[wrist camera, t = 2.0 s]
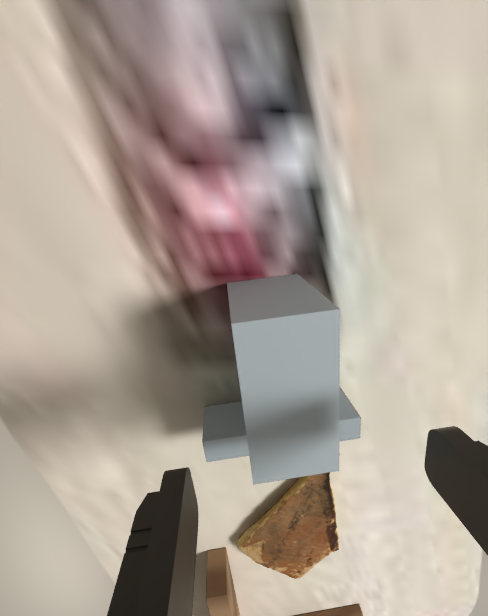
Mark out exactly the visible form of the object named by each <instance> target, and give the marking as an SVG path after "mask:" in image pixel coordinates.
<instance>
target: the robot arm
mask: <svg viewBox="0 0 488 616" xmlns="http://www.w3.org/2000/svg"><path fill="white" fill-rule="evenodd" d="M425 471H426V474H427V476H428V479H429V481H430V482H431V484H432V485H433V487H434V488H435V489H436V491H437V492H438V493H439V494H440V496H441V497H442V498H443V499H444V501H445V502H446V503H447V504H448V506H449V507H450V508H451V509H452V511H453V512H454V513H455V515H456V516H457V517H458V518H459V520H460V521H461V522H462V523H463V525H464V526H465V527H466V528H467V530H468V531H469V532H470V534H471V535H472V536H473V537H474V539H475V540H476V541H477V542H478V544H479V545H480V546H481V547H482V549H483V550H484V551H485V552H486V554H487V555H488V446H487V445H485V444H483V443H481V442H480V441H475V442H474V441H473V440H472V439H471V438H470V437H469V436H468V435H466V434H465V433H464V432H463V431H462V430H461V429H459V428H458V427H454V426H452V427H446V428H439V429H433V430H430V431H429V433H428V439H427V447H426V456H425ZM197 533H198V505H197V499H196V494H195V490H194V486H193V481H192V477H191V473H190V469H189V468H188V467H187V468H181V469H175V470H168V471H165V472H164V475H163V479H162V483H161V488H160V491H159V492H152V493H148V494H147V495H146V497H145V499H144V500H143V502H142V503H141V505H140V506H139V508H138V509H137V511H136V514H135V518H134V521H133V525H132V529H131V535H130V536H129V539H128V543H127V546H126V553H125V554H124V557H123V561H122V564H121V568H120V571H119V575H118V579H117V582H116V586H115V589H114V593H113V597H112V600H111V604H110V607H109V611H108V614H107V616H192V606H193V592H194V577H195V562H196V548H197Z"/></svg>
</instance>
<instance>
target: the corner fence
mask: <svg viewBox="0 0 488 616" xmlns="http://www.w3.org/2000/svg"><path fill="white" fill-rule="evenodd" d="M206 601H207V604H208V608H209V612H210V616H240V614H239V609H238V605H237V600H236V595H235V590H234V585H233V580H232V575H231V571H230V566H229V561H228V556H227V551H226V548H221V549H215V550H209V551H207V583H206ZM296 616H363V614H362V611H361V608H360V606H359V604H356V605H351V606H345V607H340V608H335V609H329V610H324V611H318V612H313V613H307V614H302V615H296Z"/></svg>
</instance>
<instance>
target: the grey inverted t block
mask: <svg viewBox="0 0 488 616" xmlns="http://www.w3.org/2000/svg"><path fill="white" fill-rule="evenodd" d="M227 290H228V299H229V308H230V317H231V326H232V333H233V340H234V347H235V355H236V362H237V369H238V376H239V384H240V391H241V398H242V401H239V402H232V403H225V404H219V405H212V406H205V411H204V426H203V440H202V442H203V447H204V452H205V457H206V462H211V461H217V460H224V459H230V458H237V457H243V456H250V463H251V470H252V478H253V485H254V484H260V483H266V482H272V481H279V480H285V479H291V478H297V477H303V476H310V475H316V474H322V473H328V472H334V471H339V441H345V440H351V439H358V438H360V429H361V417H360V415H359V414H358V412H357V411H356V410H355V408H354V407H353V405H352V404H351V402H350V401H349V399H348V398H347V396H346V395H345V393H344V392H343V391H342V389H341V388H340V387H339V369H340V309H339V308H338V307H337V306H335V305H334V304H333V303H332V302H331V301H329V300H328V299H327V298H326V297H325V296H323V295H322V294H321V293H320V292H318V291H317V290H316V289H315V288H314V287H312V286H311V285H310V284H309V283H308V282H306V281H305V280H304V279H303V278H302V277H300V276H299V275H298V274H292V275H285V276H277V277H269V278H262V279H254V280H246V281H239V282H231V283H227Z"/></svg>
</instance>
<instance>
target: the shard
mask: <svg viewBox="0 0 488 616" xmlns="http://www.w3.org/2000/svg"><path fill="white" fill-rule="evenodd" d="M329 474H330V472H328V473H322V474H316V475H310V476H303V477H299V478H298V480H297V481H296V482H295V483H294V484H293V486H292V487H291V488H290V489H288V491H287V492H286V493H285V494H284V495H283V496H282V498H281V500H280V501H278V502H277V503H276V504H275V505H274V506H273V507H272V508H271V509H270V510H268V511H267V512H266V513H265V514H264V515H263V516H262V517H261V518H260V519H259V520H258V521H257V522H255V523H254V524H253V525H252V526H251V527H250V528H249V529H247V530H246V531H245V532H244V533H243V535H242V536H241V537H240V538H238V543H237V546H238V548H239V549H240V550H241V551H242V552H243V553H245V554H246V555H247V556H249V557H250V558H251V559H252V560H254V561H255V562H256V563H258V564H261V565H263V566H265V567H267V568H272V569H273V570H276V571H278V572H281V573H283V574H286V575H288V576H289V577H292V578H295V579H296V578H301V577H302V576H303V575H304V574H306V573H307V572H308V571H309V570H310V569H311V568H312V567H313V566H314V565H315V564H317V563H318V562H319V561H321V560H322V559H324V558H325V557H326V556H328V555H329V554H330V553H331V552H334V551H337V550H339V544H338V534H337V530H336V528H337V525H336V513H335V505H334V498H333V493H332V489H331V486H330V478H329Z"/></svg>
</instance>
